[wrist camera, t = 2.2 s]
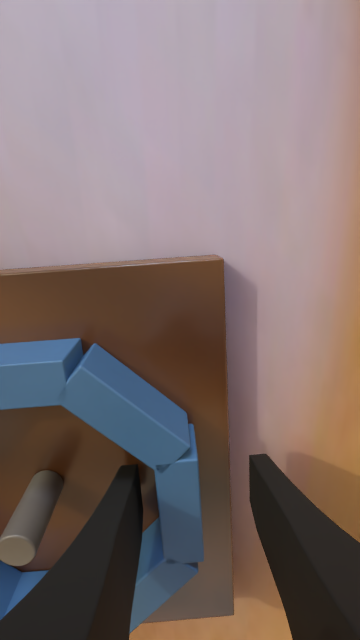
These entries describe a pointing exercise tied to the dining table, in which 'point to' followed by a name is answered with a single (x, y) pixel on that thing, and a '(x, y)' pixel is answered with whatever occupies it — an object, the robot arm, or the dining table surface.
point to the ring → (130, 434)
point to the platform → (93, 447)
